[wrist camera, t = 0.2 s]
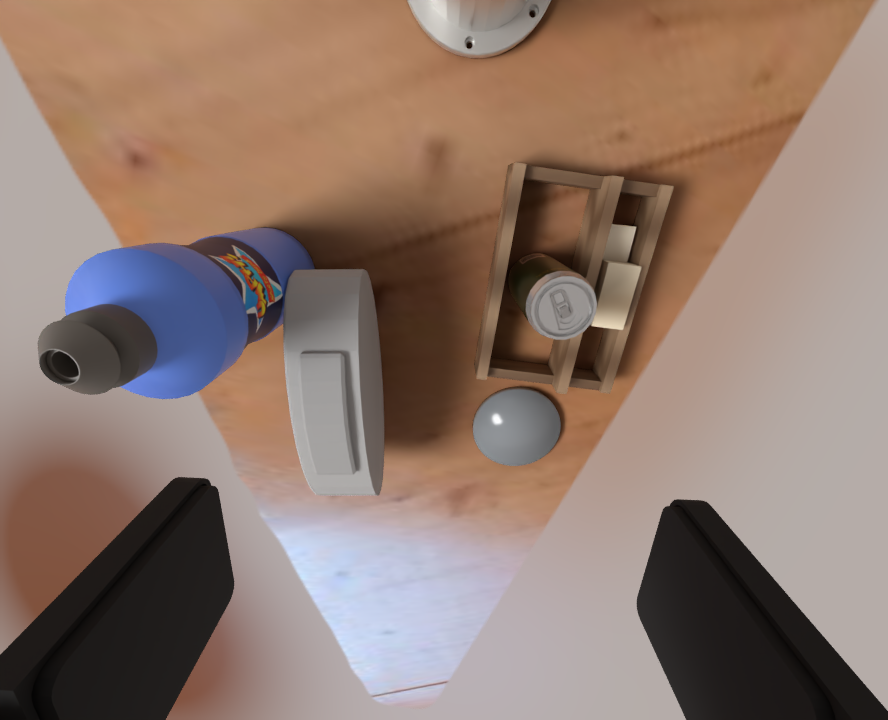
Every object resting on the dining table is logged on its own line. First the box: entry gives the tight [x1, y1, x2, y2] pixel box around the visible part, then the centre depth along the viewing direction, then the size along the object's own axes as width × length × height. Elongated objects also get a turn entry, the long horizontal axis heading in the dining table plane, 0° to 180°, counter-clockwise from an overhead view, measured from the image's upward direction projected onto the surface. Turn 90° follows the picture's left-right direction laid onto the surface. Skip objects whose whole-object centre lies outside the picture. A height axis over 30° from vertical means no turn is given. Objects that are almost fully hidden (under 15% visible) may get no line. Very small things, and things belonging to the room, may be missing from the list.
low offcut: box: [603, 224, 636, 262], centre depth 41 cm, size 8×3×2 cm, turn 174°
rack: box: [474, 162, 674, 394], centre depth 40 cm, size 20×14×5 cm
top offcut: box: [590, 259, 642, 330], centre depth 40 cm, size 6×3×2 cm, turn 173°
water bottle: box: [38, 227, 315, 399], centre depth 31 cm, size 9×9×25 cm
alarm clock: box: [283, 269, 384, 495], centre depth 40 cm, size 23×6×13 cm, turn 1°
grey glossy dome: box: [473, 387, 561, 466], centre depth 48 cm, size 10×10×1 cm
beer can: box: [508, 253, 597, 340], centre depth 37 cm, size 5×5×12 cm
